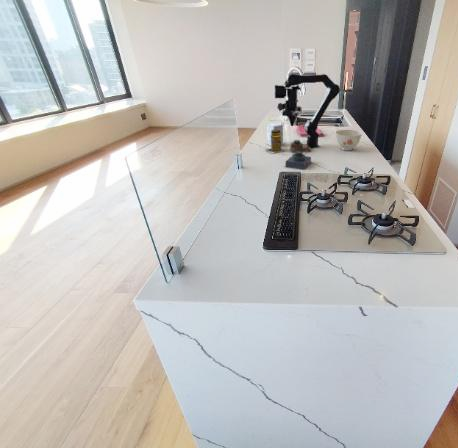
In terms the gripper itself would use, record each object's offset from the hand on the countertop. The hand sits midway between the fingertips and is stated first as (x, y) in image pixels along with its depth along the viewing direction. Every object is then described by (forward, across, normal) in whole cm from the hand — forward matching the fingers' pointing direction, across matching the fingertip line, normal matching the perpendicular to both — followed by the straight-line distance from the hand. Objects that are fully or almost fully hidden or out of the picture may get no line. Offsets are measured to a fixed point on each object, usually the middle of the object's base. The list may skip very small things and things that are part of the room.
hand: (292, 126), depth 173 cm
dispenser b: (+13, +4, +7) cm, 15 cm away
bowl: (+13, -9, +33) cm, 37 cm away
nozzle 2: (+8, +29, +14) cm, 33 cm away
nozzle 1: (+9, +5, +5) cm, 12 cm away
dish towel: (+13, -40, -1) cm, 43 cm away
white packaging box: (+13, -2, -12) cm, 18 cm away
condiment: (+13, +11, -7) cm, 18 cm away
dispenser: (+13, +29, +14) cm, 35 cm away
